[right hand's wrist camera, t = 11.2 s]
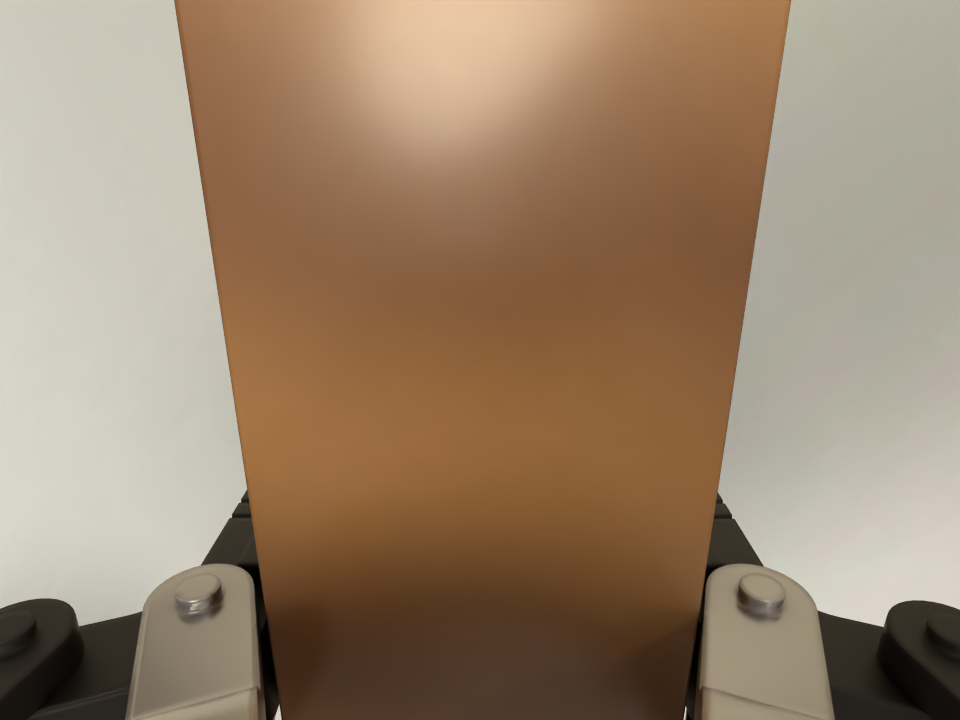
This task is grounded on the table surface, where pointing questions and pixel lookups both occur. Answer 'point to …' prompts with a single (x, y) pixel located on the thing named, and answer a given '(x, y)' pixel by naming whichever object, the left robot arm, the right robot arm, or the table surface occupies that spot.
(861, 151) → the table surface
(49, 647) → the right robot arm
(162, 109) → the table surface
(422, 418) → the beam
